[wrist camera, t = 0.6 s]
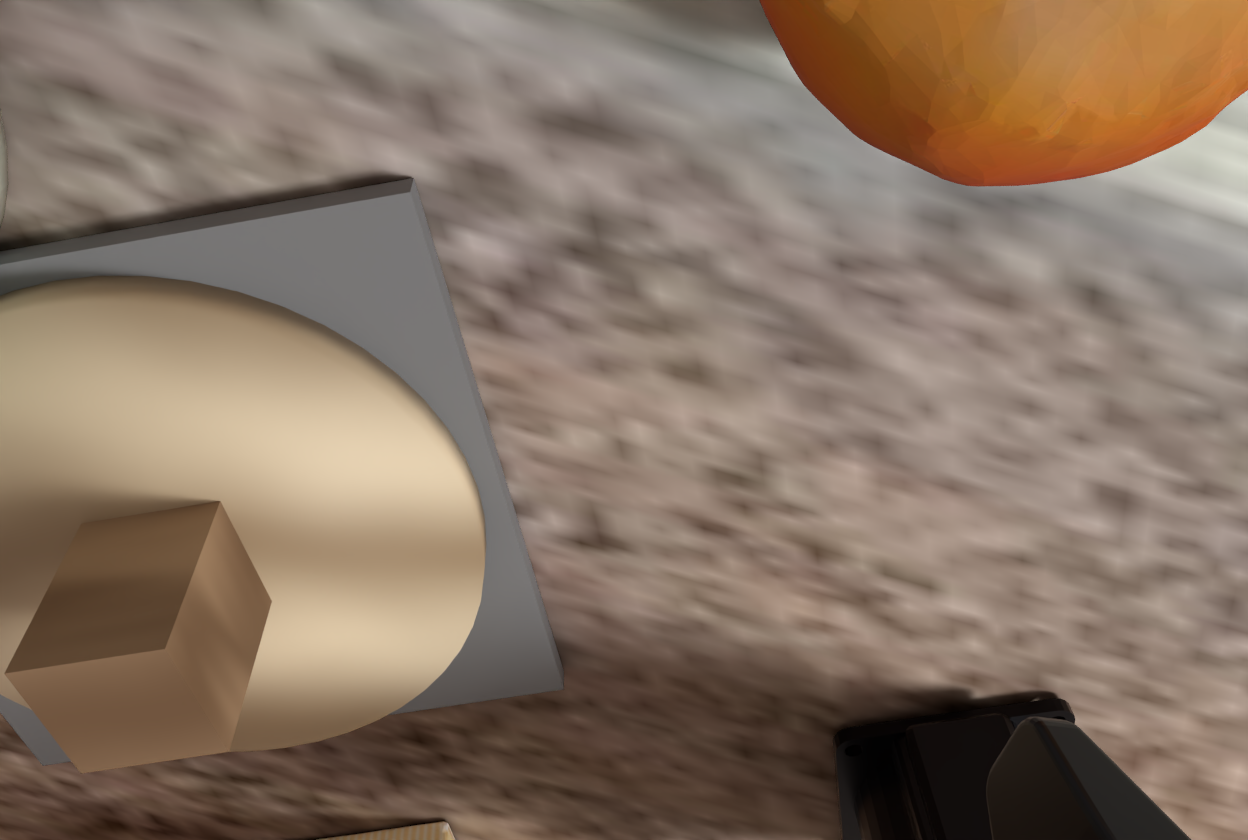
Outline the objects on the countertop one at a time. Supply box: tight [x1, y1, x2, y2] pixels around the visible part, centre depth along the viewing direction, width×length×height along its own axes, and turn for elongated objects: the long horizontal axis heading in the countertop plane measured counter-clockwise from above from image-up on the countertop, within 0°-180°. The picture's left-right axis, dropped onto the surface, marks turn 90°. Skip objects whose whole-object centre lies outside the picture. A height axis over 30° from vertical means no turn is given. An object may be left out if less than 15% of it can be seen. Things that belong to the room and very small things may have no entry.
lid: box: [0, 276, 486, 774], centre depth 23 cm, size 13×13×5 cm
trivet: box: [0, 178, 564, 766], centre depth 25 cm, size 14×14×1 cm
